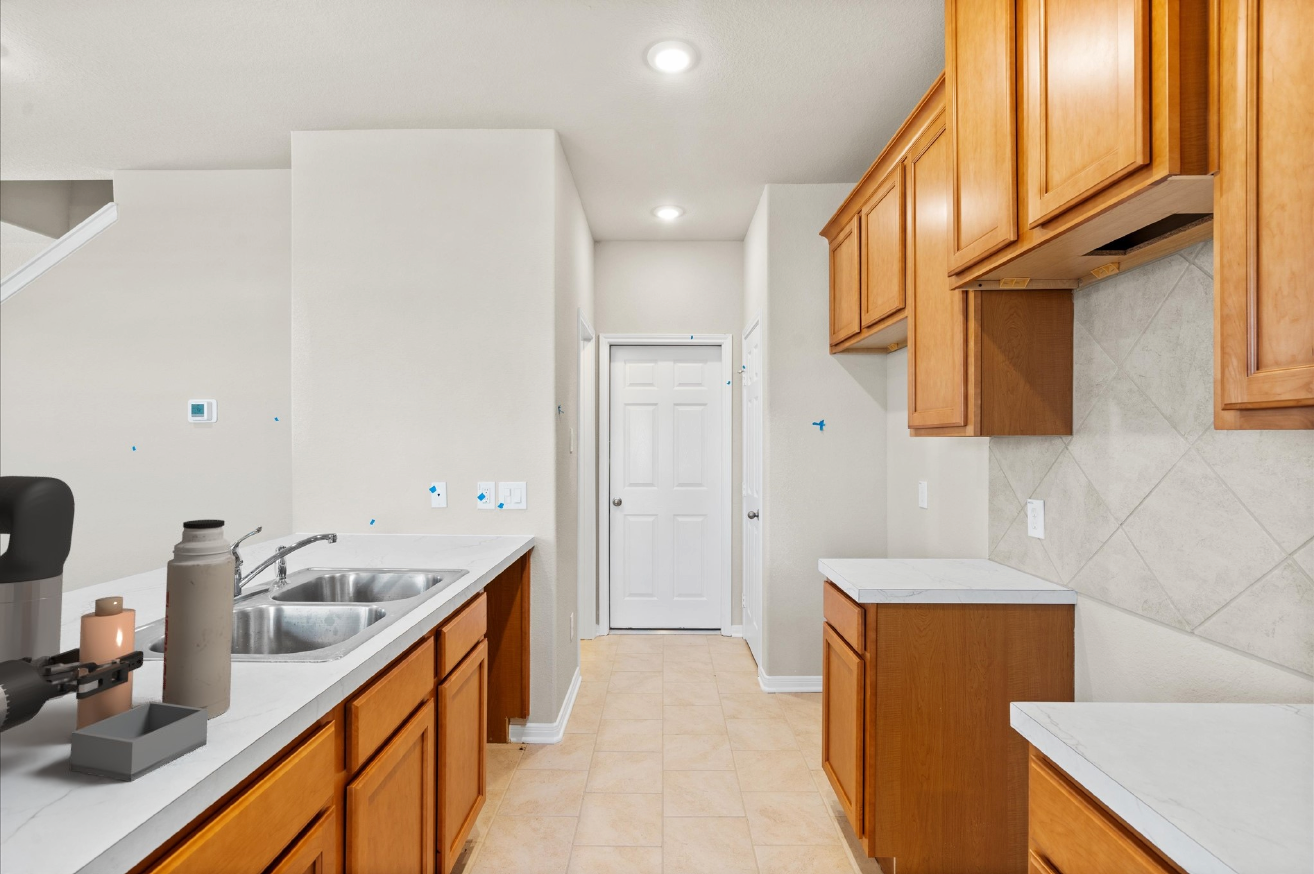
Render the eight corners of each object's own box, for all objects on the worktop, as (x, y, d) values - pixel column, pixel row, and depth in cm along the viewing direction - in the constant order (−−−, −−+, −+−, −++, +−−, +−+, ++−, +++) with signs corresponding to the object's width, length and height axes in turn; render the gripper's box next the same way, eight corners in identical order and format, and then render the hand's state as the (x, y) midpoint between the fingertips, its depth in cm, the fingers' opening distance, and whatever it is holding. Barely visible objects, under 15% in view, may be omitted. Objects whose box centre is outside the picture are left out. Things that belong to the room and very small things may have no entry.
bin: (70, 770, 73) (71, 732, 73) (150, 734, 82) (151, 701, 82) (131, 781, 71) (132, 742, 71) (206, 743, 80) (207, 709, 80)
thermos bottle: (151, 728, 84) (159, 524, 84) (173, 704, 91) (181, 517, 92) (220, 720, 86) (227, 523, 87) (236, 698, 94) (243, 516, 94)
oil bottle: (64, 739, 80) (70, 602, 80) (110, 721, 85) (115, 592, 86) (97, 745, 79) (102, 605, 79) (141, 726, 84) (146, 595, 84)
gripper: (34, 675, 66) (162, 631, 83) (-89, 670, 67) (62, 627, 83) (31, 745, 66) (160, 686, 82) (-92, 739, 67) (59, 682, 83)
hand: (110, 656), depth 83 cm, fingers open, 8 cm apart
